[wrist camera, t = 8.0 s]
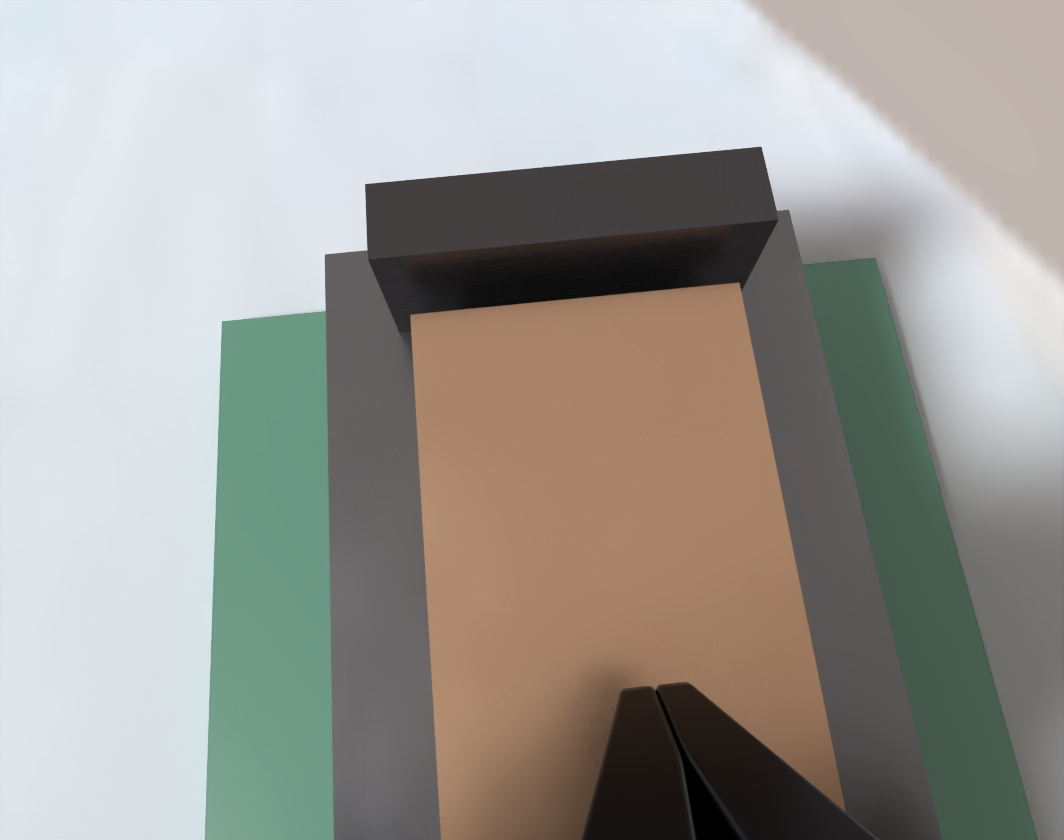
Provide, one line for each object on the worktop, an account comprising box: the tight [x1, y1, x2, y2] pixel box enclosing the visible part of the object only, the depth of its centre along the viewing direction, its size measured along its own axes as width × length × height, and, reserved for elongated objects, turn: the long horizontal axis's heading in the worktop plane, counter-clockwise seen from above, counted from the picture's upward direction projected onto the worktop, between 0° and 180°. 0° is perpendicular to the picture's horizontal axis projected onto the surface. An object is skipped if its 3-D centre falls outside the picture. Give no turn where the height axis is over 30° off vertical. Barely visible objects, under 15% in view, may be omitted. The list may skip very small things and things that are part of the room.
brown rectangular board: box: [410, 283, 846, 840], centre depth 13 cm, size 10×6×1 cm, turn 6°
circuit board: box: [205, 258, 1038, 840], centre depth 18 cm, size 20×18×1 cm
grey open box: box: [325, 147, 942, 840], centre depth 14 cm, size 16×10×7 cm, turn 6°
